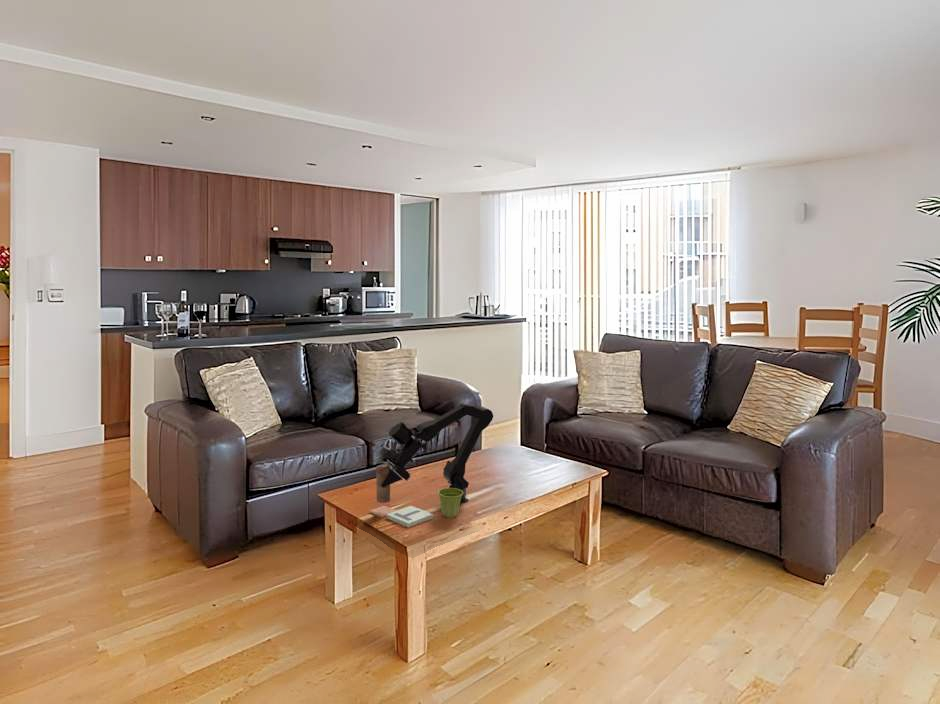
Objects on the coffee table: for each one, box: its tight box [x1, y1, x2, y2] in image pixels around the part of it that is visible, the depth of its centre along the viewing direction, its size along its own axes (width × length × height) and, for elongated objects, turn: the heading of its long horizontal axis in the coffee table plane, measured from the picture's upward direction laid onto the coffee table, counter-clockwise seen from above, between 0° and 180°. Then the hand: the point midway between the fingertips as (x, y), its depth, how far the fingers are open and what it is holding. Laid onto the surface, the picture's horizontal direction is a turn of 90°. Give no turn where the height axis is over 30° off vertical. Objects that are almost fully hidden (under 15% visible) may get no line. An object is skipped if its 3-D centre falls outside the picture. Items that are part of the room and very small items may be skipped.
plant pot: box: [437, 487, 463, 518], centre depth 236 cm, size 9×9×9 cm
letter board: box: [386, 505, 434, 528], centre depth 233 cm, size 12×12×2 cm
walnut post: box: [375, 464, 391, 504], centre depth 236 cm, size 5×5×13 cm
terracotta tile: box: [369, 505, 397, 518], centre depth 238 cm, size 7×7×1 cm
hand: (379, 484), depth 236 cm, fingers closed on walnut post, 5 cm apart
